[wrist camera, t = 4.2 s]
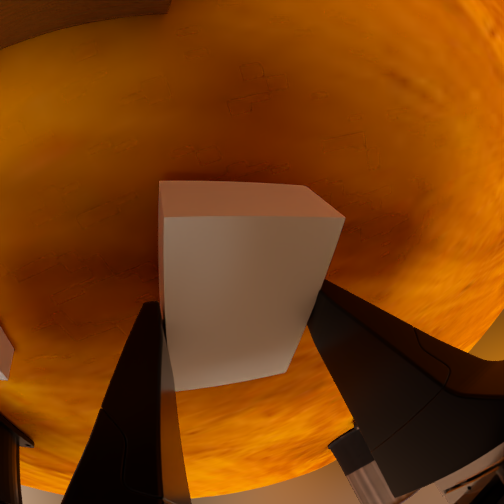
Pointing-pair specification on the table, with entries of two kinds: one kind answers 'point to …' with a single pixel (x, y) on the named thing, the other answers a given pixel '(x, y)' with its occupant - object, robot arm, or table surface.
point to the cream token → (239, 275)
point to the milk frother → (363, 470)
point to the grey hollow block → (65, 15)
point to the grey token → (5, 356)
